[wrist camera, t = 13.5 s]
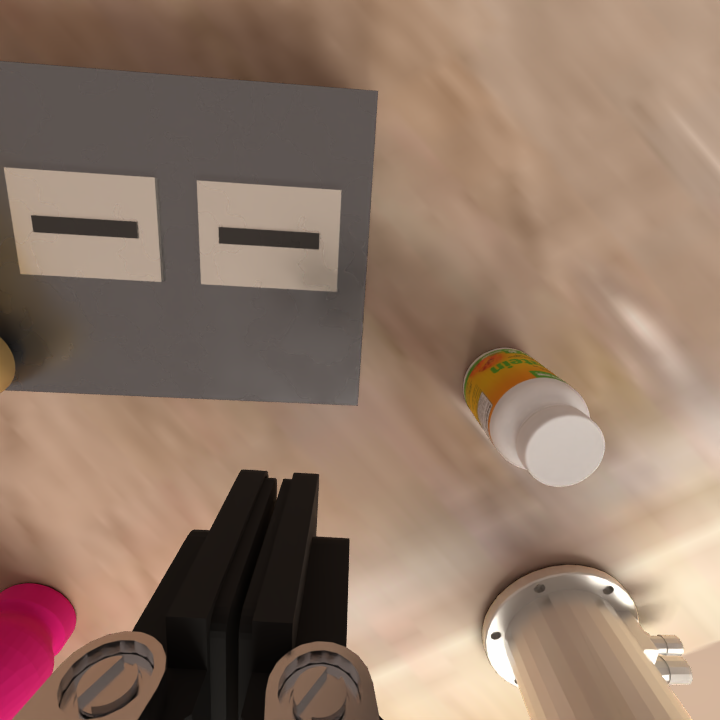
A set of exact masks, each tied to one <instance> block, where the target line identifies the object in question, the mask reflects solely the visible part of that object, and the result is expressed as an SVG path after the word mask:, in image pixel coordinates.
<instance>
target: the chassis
mask: <svg viewBox="0 0 720 720" xmlns="http://www.w3.org/2000/svg"><path fill="white" fill-rule="evenodd" d="M377 99H378V91H372V90H359V89H346V88H334V87H321V86H309V85H296V84H283V83H271V82H258V81H245V80H233V79H220V78H208V77H195V76H182V75H170V74H157V73H144V72H132V71H119V70H106V69H94V68H81V67H69V66H56V65H43V64H31V63H18V62H5V61H0V337H1V338H2V339H3V340H4V342H5V343H6V344H7V345H8V347H9V348H10V350H11V352H12V355H13V357H14V361H15V375H14V378H13V380H12V382H11V384H10V385H9V387H7V388H6V389H5V390H10V391H33V392H56V393H79V394H102V395H125V396H148V397H171V398H194V399H217V400H240V401H263V402H286V403H309V404H332V405H355V406H358V393H359V377H360V362H361V347H362V331H363V316H364V300H365V285H366V269H367V254H368V238H369V223H370V207H371V192H372V176H373V161H374V145H375V130H376V114H377Z"/></svg>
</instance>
